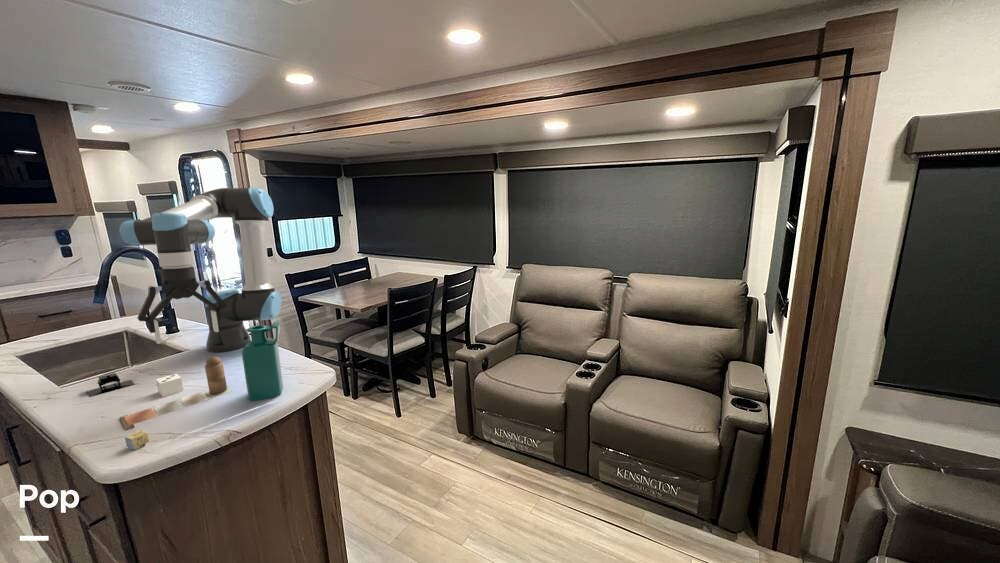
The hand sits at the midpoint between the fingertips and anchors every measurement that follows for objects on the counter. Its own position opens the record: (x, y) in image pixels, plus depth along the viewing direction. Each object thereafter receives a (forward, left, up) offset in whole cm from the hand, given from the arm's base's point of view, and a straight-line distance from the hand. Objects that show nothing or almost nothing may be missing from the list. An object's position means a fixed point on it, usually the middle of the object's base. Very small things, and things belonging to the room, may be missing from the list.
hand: (188, 336), depth 113 cm
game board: (+5, +4, -19) cm, 20 cm away
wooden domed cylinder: (-4, +4, -18) cm, 19 cm away
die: (+5, -8, -19) cm, 21 cm away
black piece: (+16, -28, -19) cm, 38 cm away
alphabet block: (+17, +20, -19) cm, 32 cm away
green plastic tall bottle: (-13, +18, -19) cm, 29 cm away
